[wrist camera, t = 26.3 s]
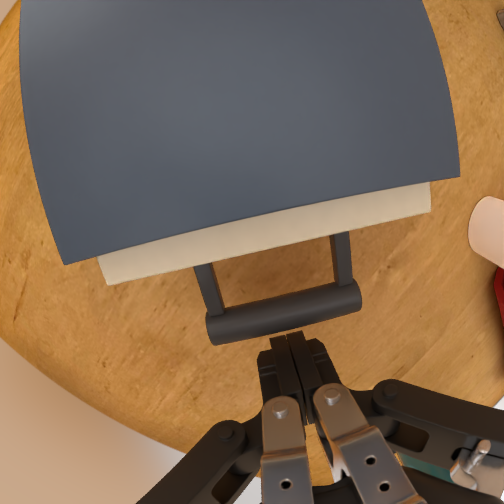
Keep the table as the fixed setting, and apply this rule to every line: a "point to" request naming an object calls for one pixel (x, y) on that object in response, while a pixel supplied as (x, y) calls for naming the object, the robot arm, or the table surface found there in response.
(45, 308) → the table surface
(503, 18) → the hard drive
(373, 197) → the drawer
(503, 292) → the shell casing
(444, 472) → the canister
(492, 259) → the tube
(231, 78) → the cabinet
